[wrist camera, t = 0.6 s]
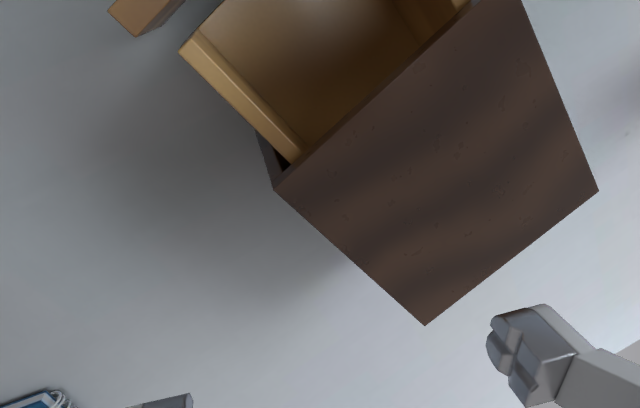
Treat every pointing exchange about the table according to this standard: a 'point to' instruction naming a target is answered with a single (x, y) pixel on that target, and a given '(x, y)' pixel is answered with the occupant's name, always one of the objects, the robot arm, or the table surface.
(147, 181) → the table surface
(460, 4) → the wooden pull-out drawer
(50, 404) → the sketchbook
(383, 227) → the wooden drawer box
